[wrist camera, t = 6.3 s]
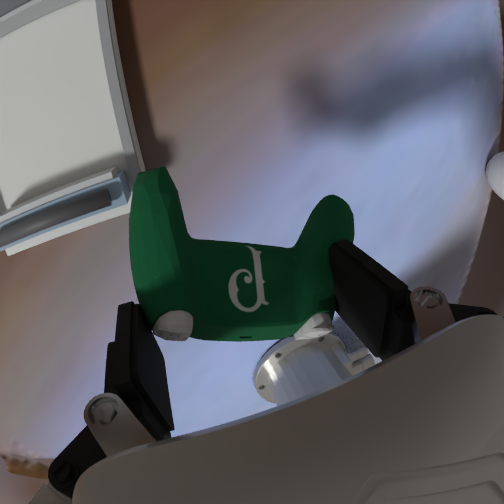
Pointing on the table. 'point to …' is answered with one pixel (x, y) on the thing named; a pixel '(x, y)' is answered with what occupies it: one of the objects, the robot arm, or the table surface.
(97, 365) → the table surface
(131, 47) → the table surface
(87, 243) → the table surface
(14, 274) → the table surface
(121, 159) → the vise base
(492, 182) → the white tall teardrop piece
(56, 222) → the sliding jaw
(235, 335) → the gaming controller
